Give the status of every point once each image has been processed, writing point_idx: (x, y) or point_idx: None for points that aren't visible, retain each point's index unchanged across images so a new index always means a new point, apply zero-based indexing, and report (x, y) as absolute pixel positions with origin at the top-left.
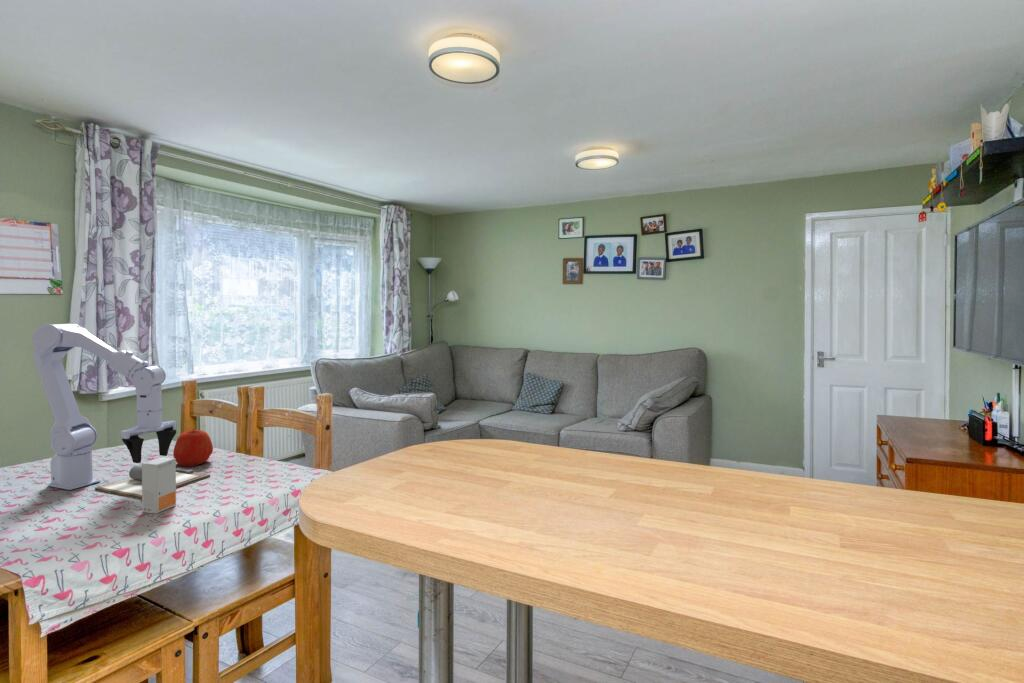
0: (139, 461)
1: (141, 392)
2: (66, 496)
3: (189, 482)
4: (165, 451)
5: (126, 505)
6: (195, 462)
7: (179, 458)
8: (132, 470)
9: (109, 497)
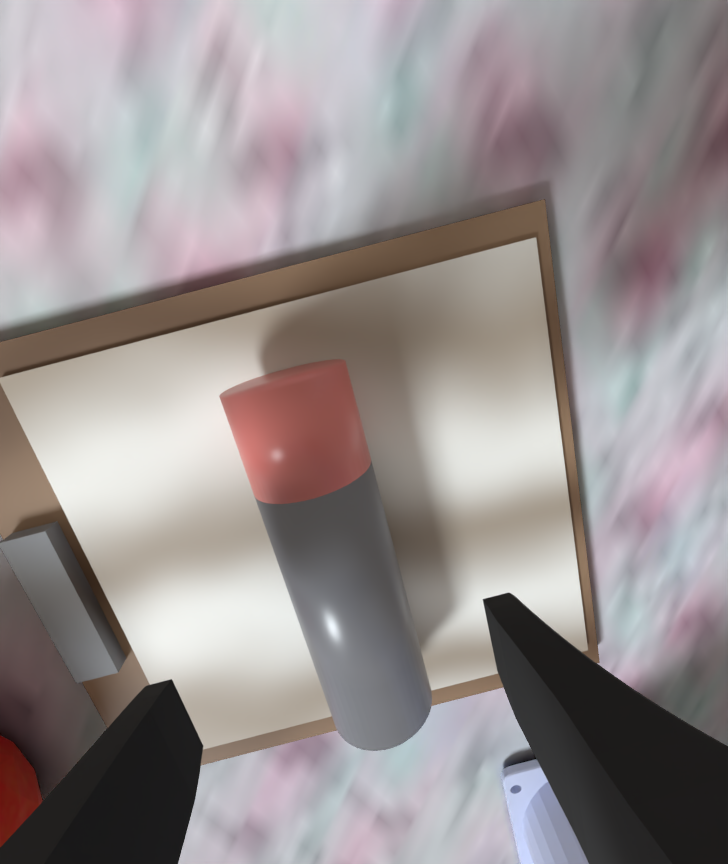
0: (508, 600)
1: None
2: (724, 644)
3: (123, 311)
4: (143, 727)
5: (671, 154)
6: None
7: (8, 815)
8: (422, 697)
9: (626, 445)
